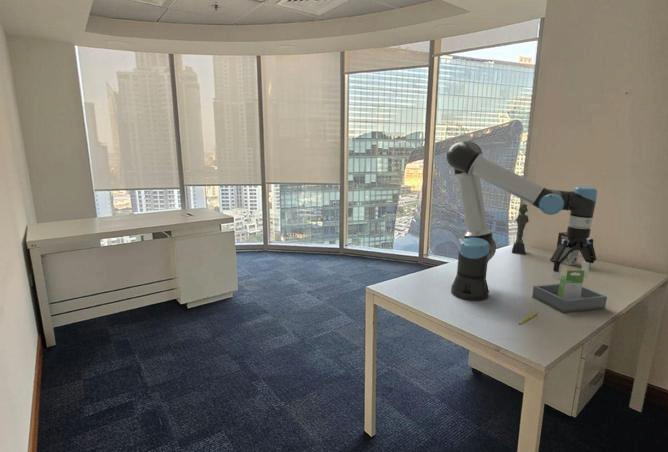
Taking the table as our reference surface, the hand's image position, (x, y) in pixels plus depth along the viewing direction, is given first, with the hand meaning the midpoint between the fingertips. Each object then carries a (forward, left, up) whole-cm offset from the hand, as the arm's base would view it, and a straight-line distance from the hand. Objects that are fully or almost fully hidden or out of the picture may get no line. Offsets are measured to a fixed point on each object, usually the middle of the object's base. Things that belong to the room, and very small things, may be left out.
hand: (570, 278), depth 152 cm
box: (0, 0, -10) cm, 10 cm away
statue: (+34, +67, -11) cm, 76 cm away
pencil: (-27, -9, -11) cm, 31 cm away
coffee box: (+45, +45, -11) cm, 65 cm away
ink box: (+1, 0, -10) cm, 10 cm away
